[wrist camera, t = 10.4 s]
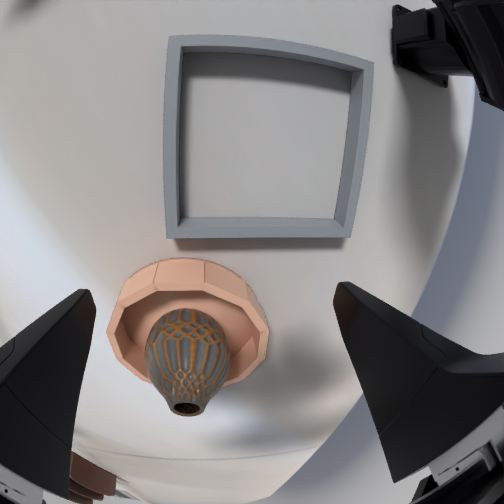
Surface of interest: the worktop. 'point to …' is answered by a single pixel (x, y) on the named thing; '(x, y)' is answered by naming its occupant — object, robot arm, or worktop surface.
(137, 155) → the worktop surface
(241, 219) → the parts tray
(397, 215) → the worktop surface
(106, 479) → the letter holder
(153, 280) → the bowl
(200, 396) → the vase
